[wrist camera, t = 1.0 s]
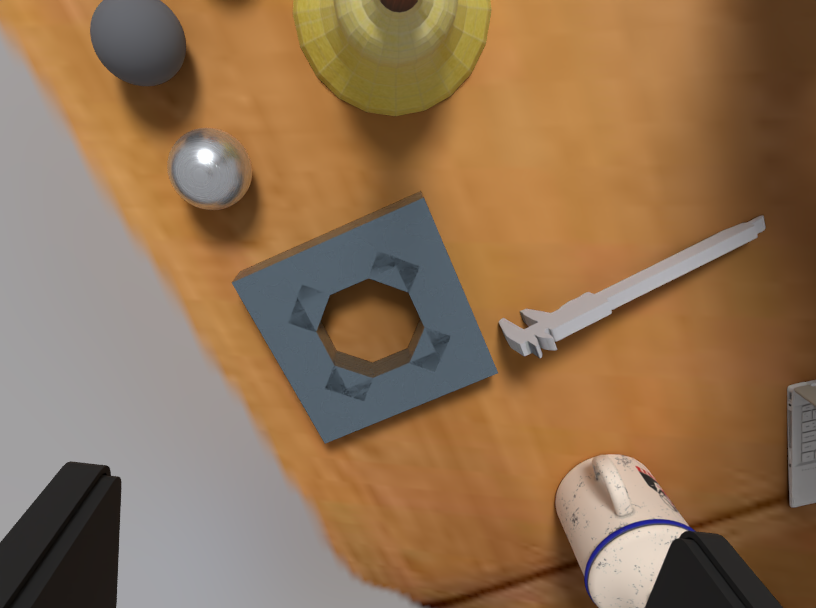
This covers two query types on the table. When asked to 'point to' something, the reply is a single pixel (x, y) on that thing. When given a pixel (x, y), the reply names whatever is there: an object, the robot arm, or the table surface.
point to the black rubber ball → (138, 40)
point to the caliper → (620, 292)
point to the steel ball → (209, 168)
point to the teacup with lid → (617, 528)
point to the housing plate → (343, 267)
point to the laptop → (802, 443)
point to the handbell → (392, 49)
